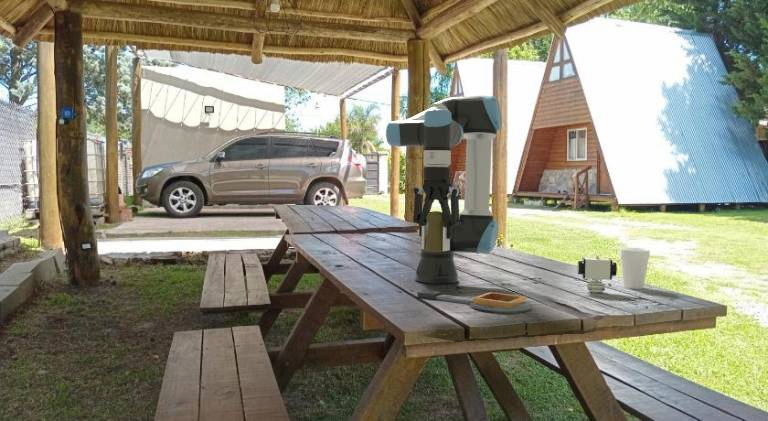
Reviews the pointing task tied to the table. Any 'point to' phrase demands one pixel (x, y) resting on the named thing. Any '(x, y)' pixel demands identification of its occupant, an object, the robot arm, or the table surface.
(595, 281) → the pneumatic valve
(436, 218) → the cork
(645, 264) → the foam cup
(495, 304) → the round pan with handle
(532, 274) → the table surface
